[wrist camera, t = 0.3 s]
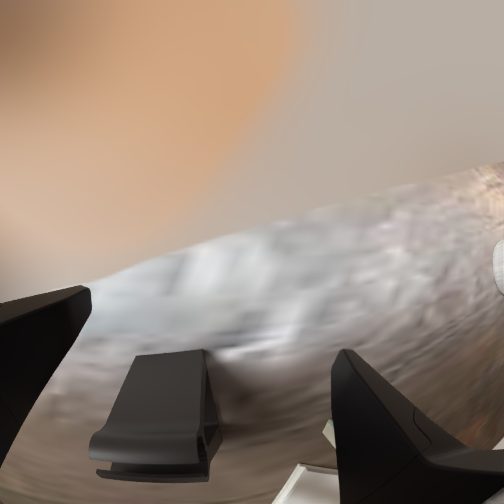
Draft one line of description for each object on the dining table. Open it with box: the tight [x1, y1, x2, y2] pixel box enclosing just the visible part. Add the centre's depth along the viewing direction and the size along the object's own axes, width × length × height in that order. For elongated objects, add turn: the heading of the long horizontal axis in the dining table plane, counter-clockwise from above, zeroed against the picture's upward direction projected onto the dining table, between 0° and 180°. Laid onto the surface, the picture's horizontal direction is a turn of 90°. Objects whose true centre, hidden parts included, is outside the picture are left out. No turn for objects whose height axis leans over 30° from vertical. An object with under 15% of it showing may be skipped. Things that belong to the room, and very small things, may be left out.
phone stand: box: [89, 349, 223, 483], centre depth 15 cm, size 9×6×12 cm, turn 9°
